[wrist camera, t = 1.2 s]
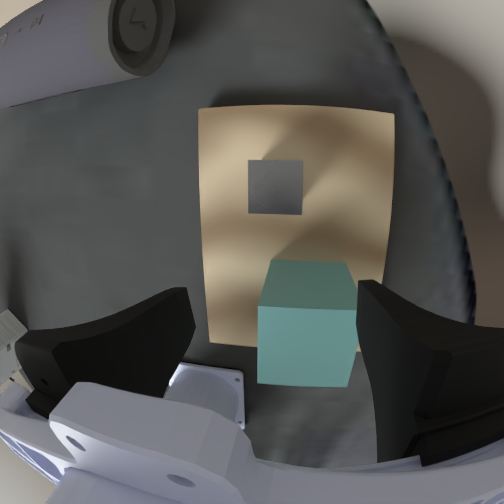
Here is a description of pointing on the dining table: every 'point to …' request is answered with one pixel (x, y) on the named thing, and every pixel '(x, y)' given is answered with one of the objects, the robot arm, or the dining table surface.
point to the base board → (314, 201)
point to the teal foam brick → (307, 324)
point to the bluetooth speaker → (81, 46)
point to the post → (275, 187)
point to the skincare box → (9, 344)
